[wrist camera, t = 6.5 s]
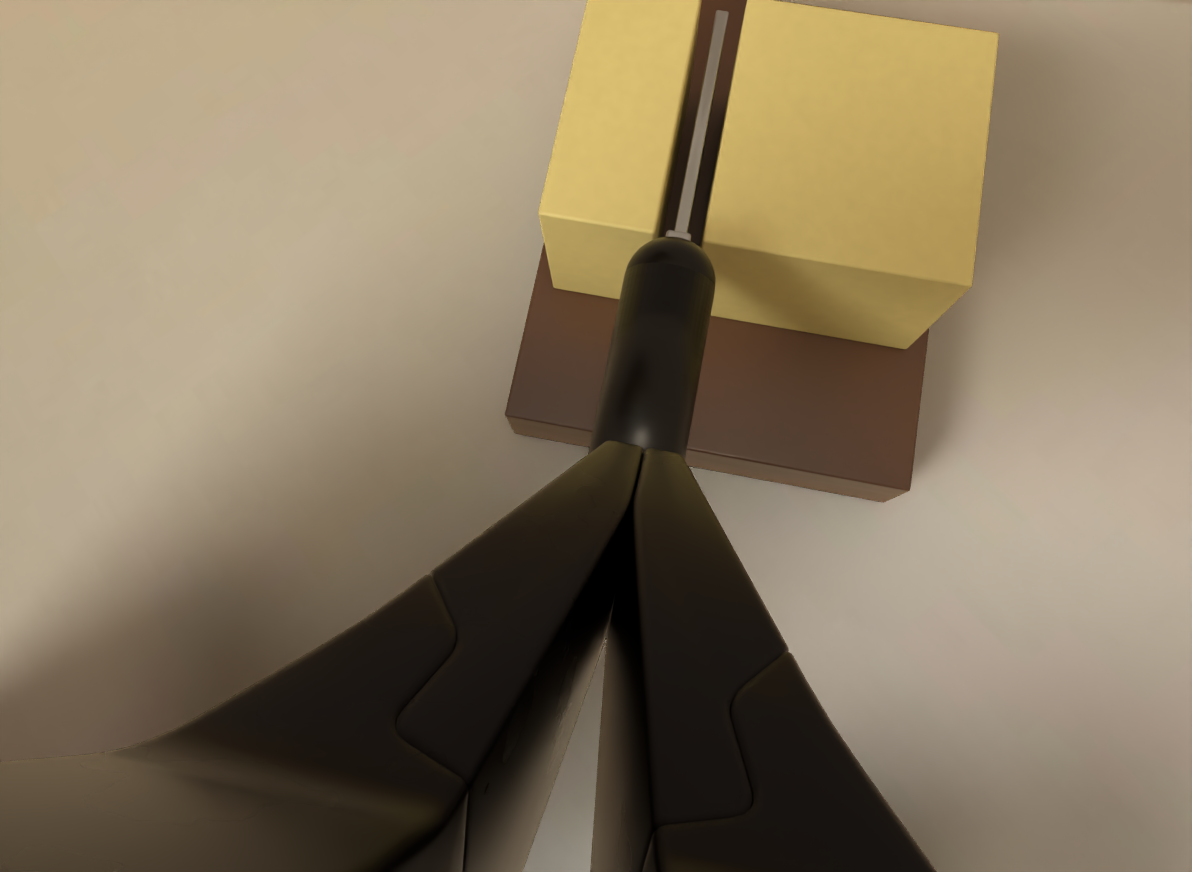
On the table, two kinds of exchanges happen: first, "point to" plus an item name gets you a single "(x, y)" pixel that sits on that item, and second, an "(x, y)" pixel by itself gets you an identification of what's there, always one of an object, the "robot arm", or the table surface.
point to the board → (734, 363)
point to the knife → (663, 315)
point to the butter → (782, 162)
